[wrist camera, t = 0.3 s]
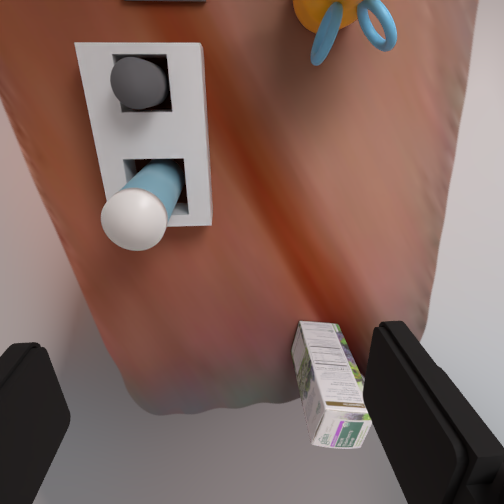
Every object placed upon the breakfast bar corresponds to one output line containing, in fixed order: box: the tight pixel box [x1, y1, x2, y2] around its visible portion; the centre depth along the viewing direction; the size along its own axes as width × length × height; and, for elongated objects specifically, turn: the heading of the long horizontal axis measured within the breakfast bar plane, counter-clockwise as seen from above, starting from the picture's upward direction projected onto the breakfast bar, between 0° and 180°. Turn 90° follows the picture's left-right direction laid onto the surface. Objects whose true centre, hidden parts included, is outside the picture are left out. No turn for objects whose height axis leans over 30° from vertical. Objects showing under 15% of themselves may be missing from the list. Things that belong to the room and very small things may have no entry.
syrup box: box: [291, 321, 372, 449], centre depth 41 cm, size 6×6×14 cm
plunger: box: [110, 57, 169, 109], centre depth 28 cm, size 4×4×5 cm
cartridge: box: [101, 159, 185, 251], centre depth 30 cm, size 4×4×13 cm
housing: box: [74, 42, 213, 227], centre depth 32 cm, size 16×10×4 cm, turn 0°
